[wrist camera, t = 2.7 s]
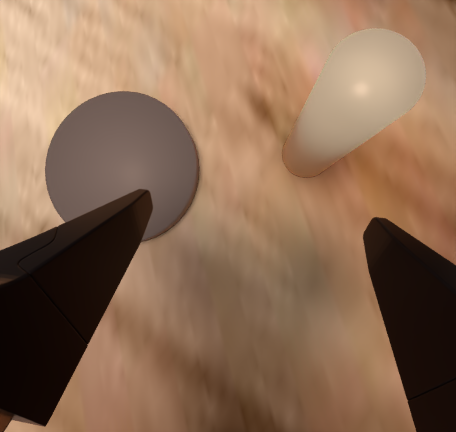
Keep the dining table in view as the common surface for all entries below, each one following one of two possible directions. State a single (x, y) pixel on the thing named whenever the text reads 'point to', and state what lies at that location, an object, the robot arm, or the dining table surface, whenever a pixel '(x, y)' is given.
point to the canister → (354, 98)
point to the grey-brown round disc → (122, 158)
